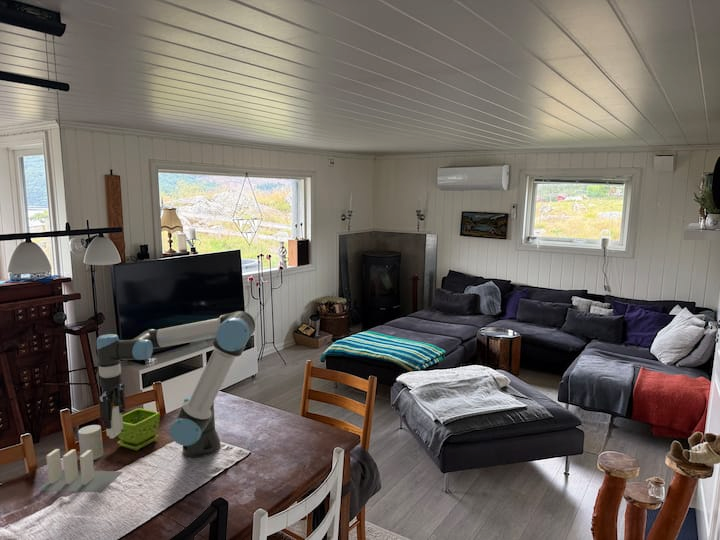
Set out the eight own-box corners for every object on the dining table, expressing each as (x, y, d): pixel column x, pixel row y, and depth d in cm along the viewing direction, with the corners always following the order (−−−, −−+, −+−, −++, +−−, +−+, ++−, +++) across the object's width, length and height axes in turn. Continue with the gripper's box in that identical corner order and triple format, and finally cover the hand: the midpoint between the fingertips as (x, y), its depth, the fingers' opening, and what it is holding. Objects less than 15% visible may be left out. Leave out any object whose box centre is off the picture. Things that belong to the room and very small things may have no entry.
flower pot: (140, 433, 222) (138, 407, 221) (163, 439, 216) (161, 412, 215) (113, 447, 210) (110, 419, 208) (136, 454, 204) (133, 425, 202)
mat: (123, 472, 190) (123, 471, 190) (101, 493, 176) (101, 492, 176) (62, 470, 192) (62, 469, 192) (36, 491, 178) (35, 490, 178)
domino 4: (121, 432, 194) (118, 405, 193) (113, 438, 189) (111, 411, 188) (117, 432, 194) (114, 405, 193) (109, 438, 189) (107, 410, 188)
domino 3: (94, 477, 186) (92, 449, 185) (86, 484, 181) (83, 456, 180) (90, 477, 186) (88, 449, 185) (82, 484, 181) (79, 456, 180)
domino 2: (78, 476, 187) (75, 449, 185) (69, 484, 182) (66, 456, 180) (74, 476, 187) (71, 449, 185) (65, 484, 182) (62, 456, 180)
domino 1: (62, 476, 187) (59, 449, 186) (53, 483, 182) (50, 455, 181) (58, 476, 187) (55, 448, 186) (49, 483, 182) (46, 455, 181)
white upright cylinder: (93, 462, 198) (90, 434, 196) (76, 461, 199) (73, 433, 198) (107, 452, 206) (105, 425, 204) (90, 451, 207) (88, 424, 206)
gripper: (115, 366, 198) (119, 421, 201) (85, 382, 180) (91, 442, 183) (132, 367, 197) (136, 422, 200) (105, 383, 179) (110, 443, 182)
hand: (115, 432), depth 192 cm, fingers closed on domino 4, 5 cm apart
